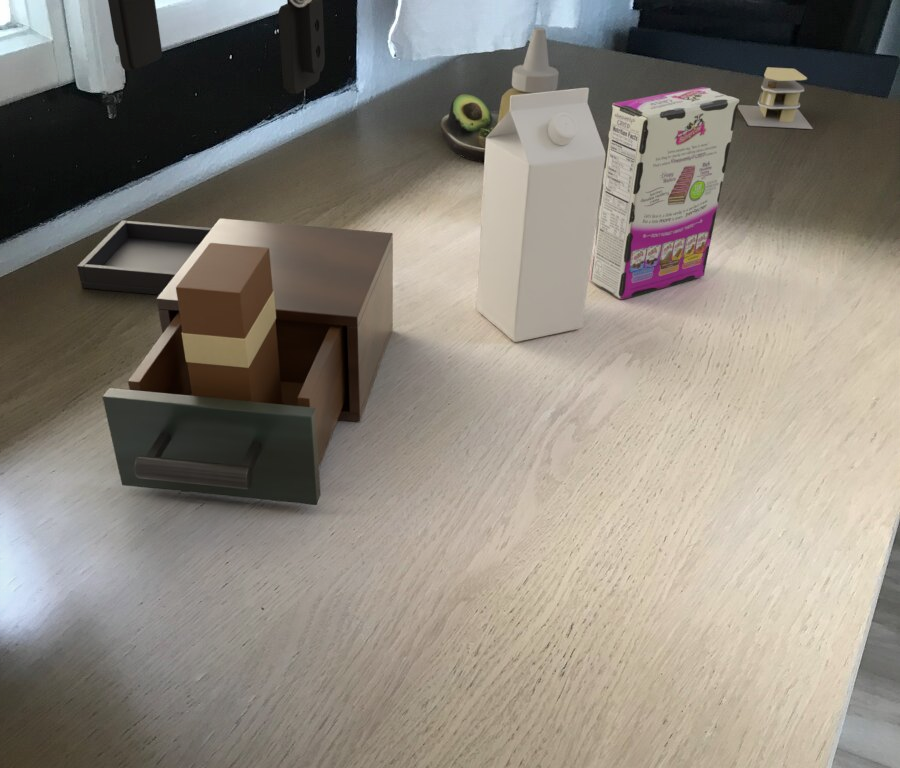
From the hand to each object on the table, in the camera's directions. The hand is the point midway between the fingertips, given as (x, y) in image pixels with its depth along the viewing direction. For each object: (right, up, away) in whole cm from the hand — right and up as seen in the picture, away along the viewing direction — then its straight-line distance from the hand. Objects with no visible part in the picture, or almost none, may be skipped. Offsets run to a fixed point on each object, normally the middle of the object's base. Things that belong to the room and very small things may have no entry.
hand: (221, 75), depth 53 cm
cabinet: (-1, -9, +28) cm, 29 cm away
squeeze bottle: (+21, +14, +55) cm, 60 cm away
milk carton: (+20, -3, +36) cm, 41 cm away
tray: (-14, +3, +41) cm, 43 cm away
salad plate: (+19, +30, +73) cm, 82 cm away
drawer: (-2, -18, +16) cm, 24 cm away
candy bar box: (+32, +3, +43) cm, 54 cm away
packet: (-2, -17, +16) cm, 23 cm away
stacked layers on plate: (+59, +40, +86) cm, 112 cm away
